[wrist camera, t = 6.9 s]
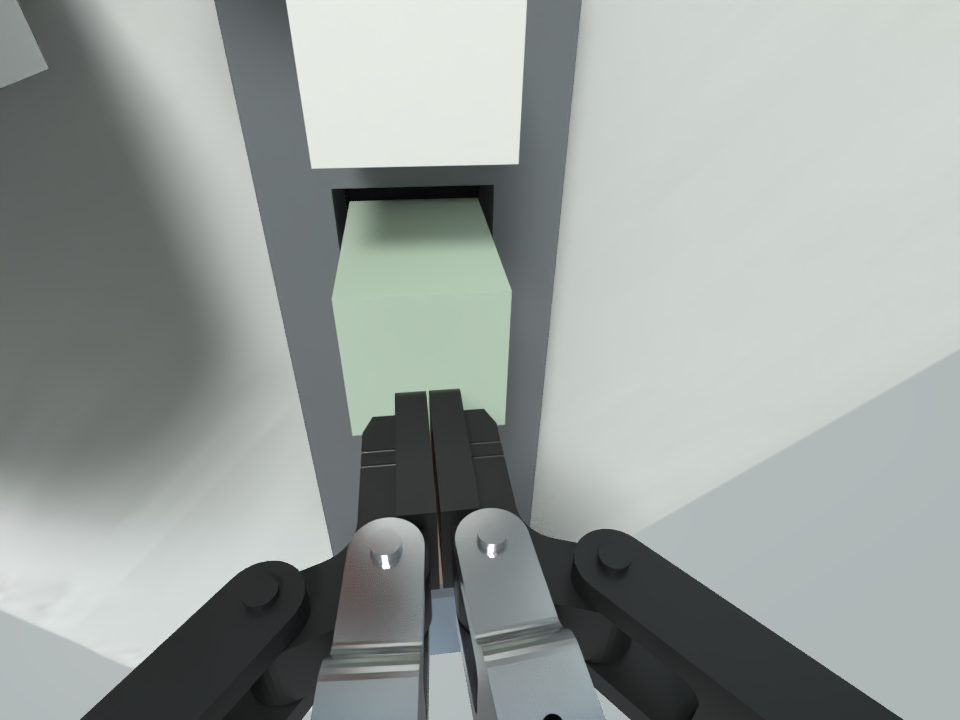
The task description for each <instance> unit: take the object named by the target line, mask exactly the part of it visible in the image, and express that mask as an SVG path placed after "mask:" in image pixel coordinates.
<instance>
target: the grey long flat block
mask: <svg viewBox="0 0 960 720" xmlns="http://www.w3.org/2000/svg"><path fill="white" fill-rule="evenodd" d="M214 1H215V6H216V11H217V15H218V20H219V25H220V29H221V34H222V39H223V43H224V48H225V53H226V57H227V62H228V67H229V71H230V76H231V81H232V85H233V90H234V95H235V99H236V104H237V109H238V113H239V118H240V123H241V127H242V132H243V137H244V141H245V146H246V151H247V155H248V160H249V165H250V169H251V174H252V179H253V183H254V188H255V193H256V197H257V202H258V207H259V212H260V216H261V221H262V226H263V230H264V235H265V240H266V244H267V249H268V254H269V258H270V263H271V268H272V272H273V277H274V282H275V286H276V291H277V296H278V300H279V305H280V310H281V314H282V319H283V324H284V328H285V333H286V338H287V342H288V347H289V352H290V356H291V361H292V366H293V370H294V375H295V380H296V384H297V389H298V394H299V398H300V403H301V408H302V412H303V417H304V422H305V427H306V431H307V436H308V441H309V445H310V450H311V455H312V459H313V464H314V469H315V473H316V478H317V483H318V487H319V492H320V497H321V501H322V506H323V511H324V515H325V520H326V525H327V529H328V534H329V539H330V543H331V548H332V553H333V557H334V556H336V555H337V554H338V553H340V552H341V551H342V550H343V549H344V548H345V547H346V546H347V545H348V544H349V542H350V541H351V538H352V537H353V536H354V534H355V531H356V528H357V520H358V502H359V484H360V469H361V454H362V453H361V448H362V435H356V436H352V429H351V423H350V416H349V410H348V403H347V397H346V390H345V384H344V377H343V370H342V364H341V357H340V351H339V344H338V338H337V331H336V325H335V318H334V312H333V305H332V295H333V289H334V284H335V278H336V273H337V268H338V262H339V257H340V251H341V246H342V240H343V235H344V229H345V224H346V219H347V206H346V198H345V190H344V189H345V188H385V187H424V186H463V185H479V203H480V206H481V208H482V211H483V214H484V217H485V219H486V222H487V225H488V227H489V230H490V233H491V236H492V238H493V241H494V244H495V247H496V249H497V252H498V255H499V257H500V260H501V263H502V266H503V268H504V271H505V274H506V276H507V279H508V282H509V285H510V287H511V290H512V298H511V317H510V336H509V355H508V375H507V394H506V413H505V425H497V428H498V432H499V436H500V442H501V445H502V449H503V453H504V457H505V461H506V466H507V470H508V474H509V478H510V483H511V487H512V491H513V495H514V499H515V504H516V508H517V511H518V513H519V515H520V517H521V518H522V520H523V521H524V522H525V523H526V524H527V525H528V526H529V527H530V518H531V508H532V497H533V487H534V477H535V467H536V457H537V447H538V437H539V426H540V416H541V406H542V396H543V386H544V376H545V365H546V355H547V345H548V335H549V325H550V315H551V305H552V294H553V284H554V274H555V264H556V254H557V244H558V234H559V223H560V213H561V203H562V193H563V183H564V173H565V163H566V152H567V142H568V132H569V122H570V112H571V102H572V91H573V81H574V71H575V61H576V51H577V41H578V31H579V20H580V10H581V0H527V11H526V30H525V49H524V68H523V87H522V107H521V126H520V145H519V164H504V165H458V166H411V167H365V168H318V169H312V168H311V161H310V155H309V148H308V142H307V135H306V129H305V122H304V116H303V109H302V103H301V96H300V90H299V83H298V77H297V70H296V63H295V57H294V50H293V44H292V37H291V31H290V24H289V18H288V11H287V5H286V0H214Z"/></svg>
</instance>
